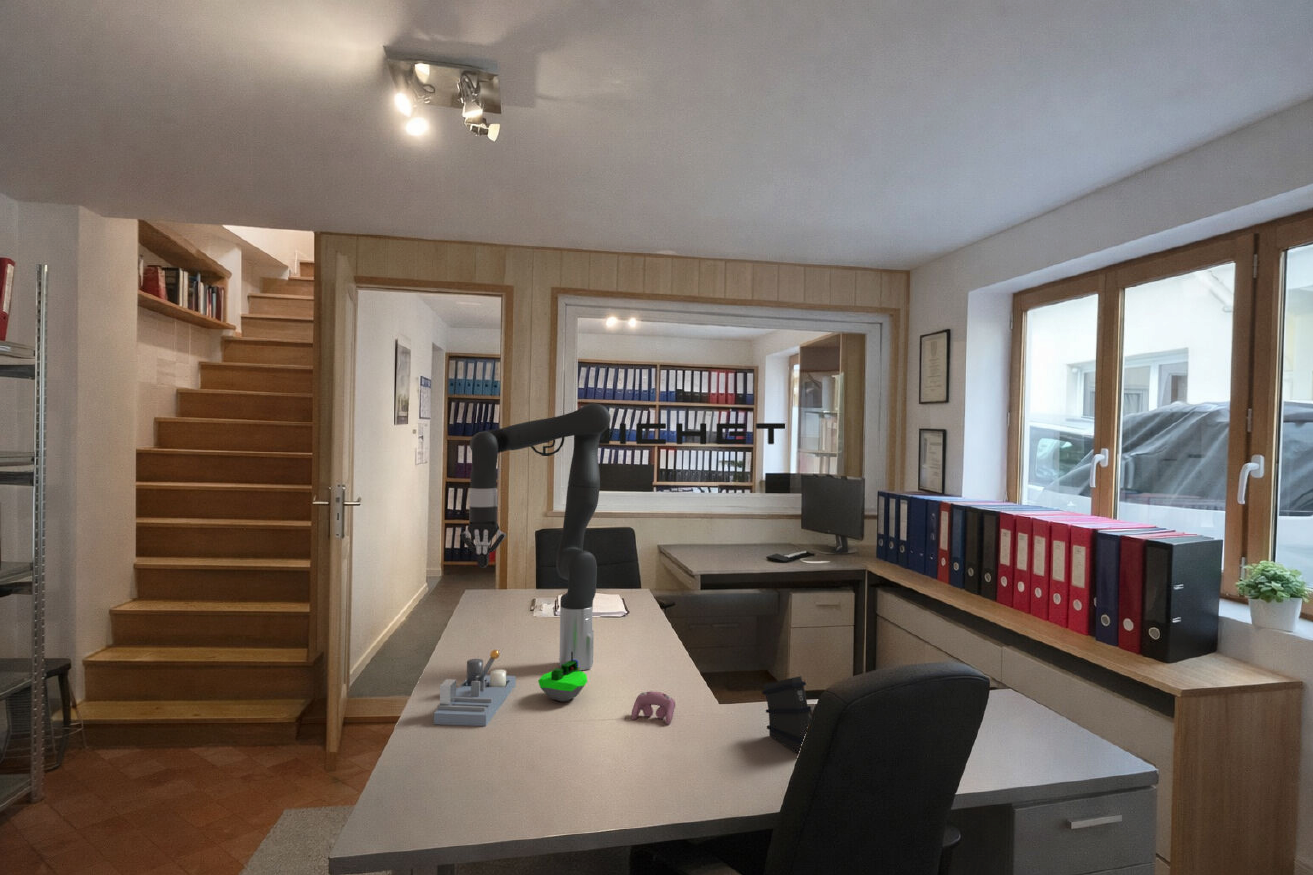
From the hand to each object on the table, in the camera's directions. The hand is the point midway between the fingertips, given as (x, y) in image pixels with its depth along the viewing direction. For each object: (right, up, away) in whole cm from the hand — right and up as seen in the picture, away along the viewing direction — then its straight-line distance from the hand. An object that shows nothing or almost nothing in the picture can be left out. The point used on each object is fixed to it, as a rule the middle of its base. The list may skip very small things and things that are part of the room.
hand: (483, 567), depth 194 cm
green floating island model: (+24, -30, -18) cm, 42 cm away
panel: (+4, -29, -22) cm, 37 cm away
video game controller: (+47, -30, -29) cm, 63 cm away
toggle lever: (+4, -24, -22) cm, 33 cm away
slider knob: (-1, -27, -29) cm, 40 cm away
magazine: (+76, -31, -41) cm, 92 cm away
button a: (+7, -29, -15) cm, 34 cm away
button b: (+1, -27, -14) cm, 30 cm away
